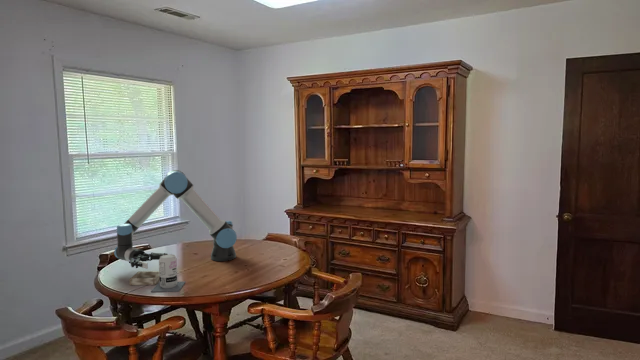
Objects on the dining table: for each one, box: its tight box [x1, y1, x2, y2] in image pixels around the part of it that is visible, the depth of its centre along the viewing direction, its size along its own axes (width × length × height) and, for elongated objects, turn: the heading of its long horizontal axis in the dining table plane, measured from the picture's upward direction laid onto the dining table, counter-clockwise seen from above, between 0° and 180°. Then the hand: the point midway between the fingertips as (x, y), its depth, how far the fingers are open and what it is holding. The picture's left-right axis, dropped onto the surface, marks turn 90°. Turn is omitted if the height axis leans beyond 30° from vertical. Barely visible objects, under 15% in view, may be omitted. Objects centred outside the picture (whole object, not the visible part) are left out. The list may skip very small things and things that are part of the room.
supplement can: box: [158, 253, 178, 288], centre depth 208 cm, size 8×8×15 cm
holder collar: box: [128, 270, 160, 286], centre depth 218 cm, size 13×13×3 cm
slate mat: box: [150, 281, 186, 293], centre depth 208 cm, size 13×13×1 cm
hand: (159, 262), depth 211 cm, fingers open, 13 cm apart
